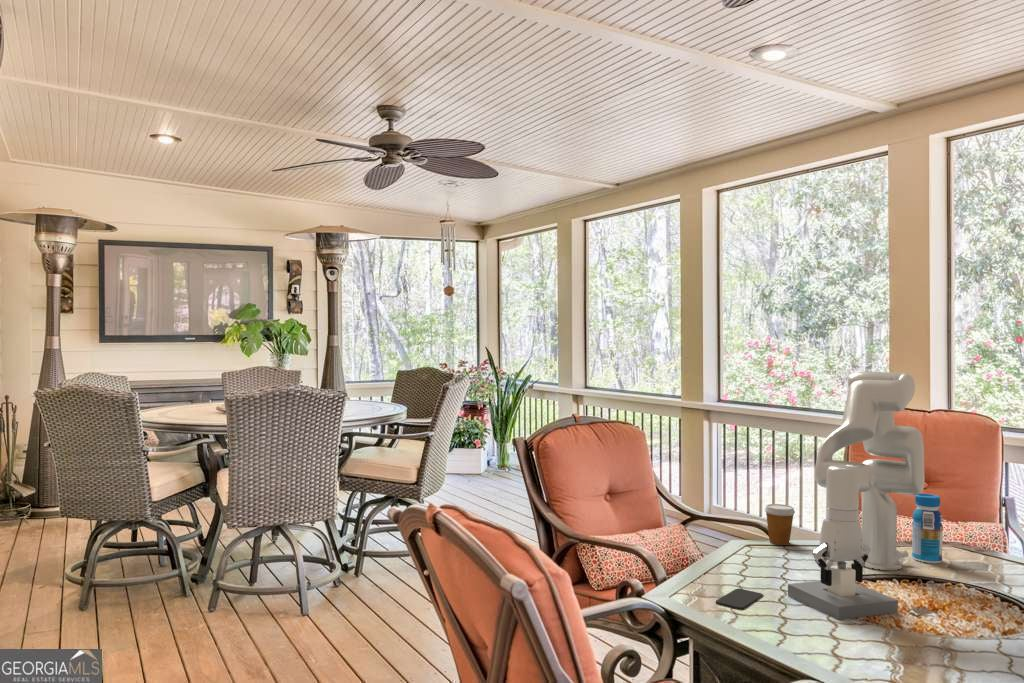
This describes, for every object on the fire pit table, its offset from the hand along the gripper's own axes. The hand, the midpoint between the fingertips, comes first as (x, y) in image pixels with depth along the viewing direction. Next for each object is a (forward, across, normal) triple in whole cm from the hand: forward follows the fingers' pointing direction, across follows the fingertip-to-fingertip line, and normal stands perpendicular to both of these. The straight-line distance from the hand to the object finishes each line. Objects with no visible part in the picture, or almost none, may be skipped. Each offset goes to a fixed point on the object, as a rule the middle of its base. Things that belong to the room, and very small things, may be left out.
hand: (841, 582), depth 187 cm
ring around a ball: (+6, -15, -21) cm, 26 cm away
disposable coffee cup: (+6, -25, -55) cm, 60 cm away
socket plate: (+5, 0, 0) cm, 5 cm away
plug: (+5, 0, 0) cm, 5 cm away
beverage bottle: (+6, -56, -25) cm, 61 cm away
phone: (+6, +23, -10) cm, 26 cm away
